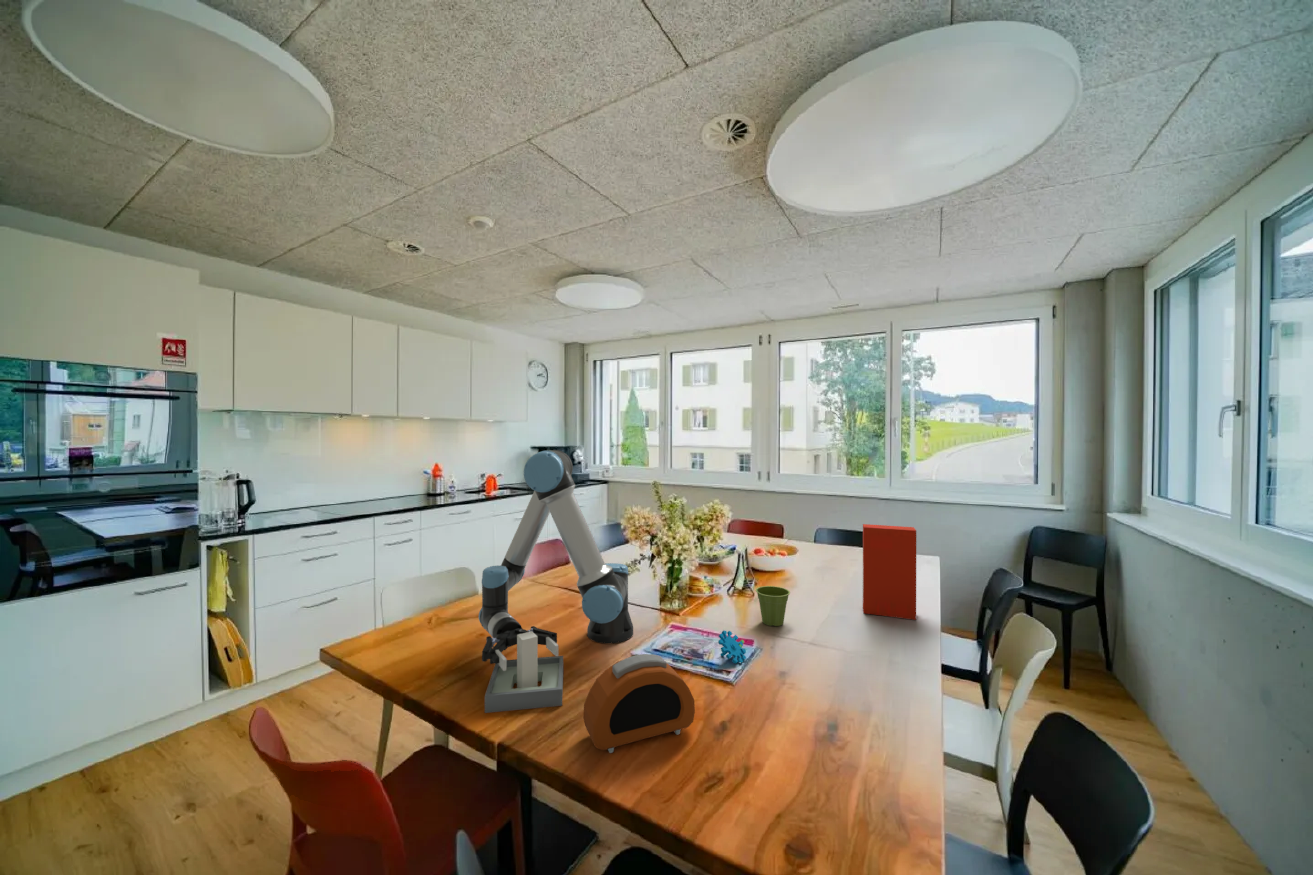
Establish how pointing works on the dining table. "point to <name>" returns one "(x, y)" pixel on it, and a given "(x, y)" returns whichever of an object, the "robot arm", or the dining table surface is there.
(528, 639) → the peg
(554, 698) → the bore box
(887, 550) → the file binder
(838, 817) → the dining table surface
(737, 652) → the gear
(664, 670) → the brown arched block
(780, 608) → the plant pot
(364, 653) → the dining table surface
